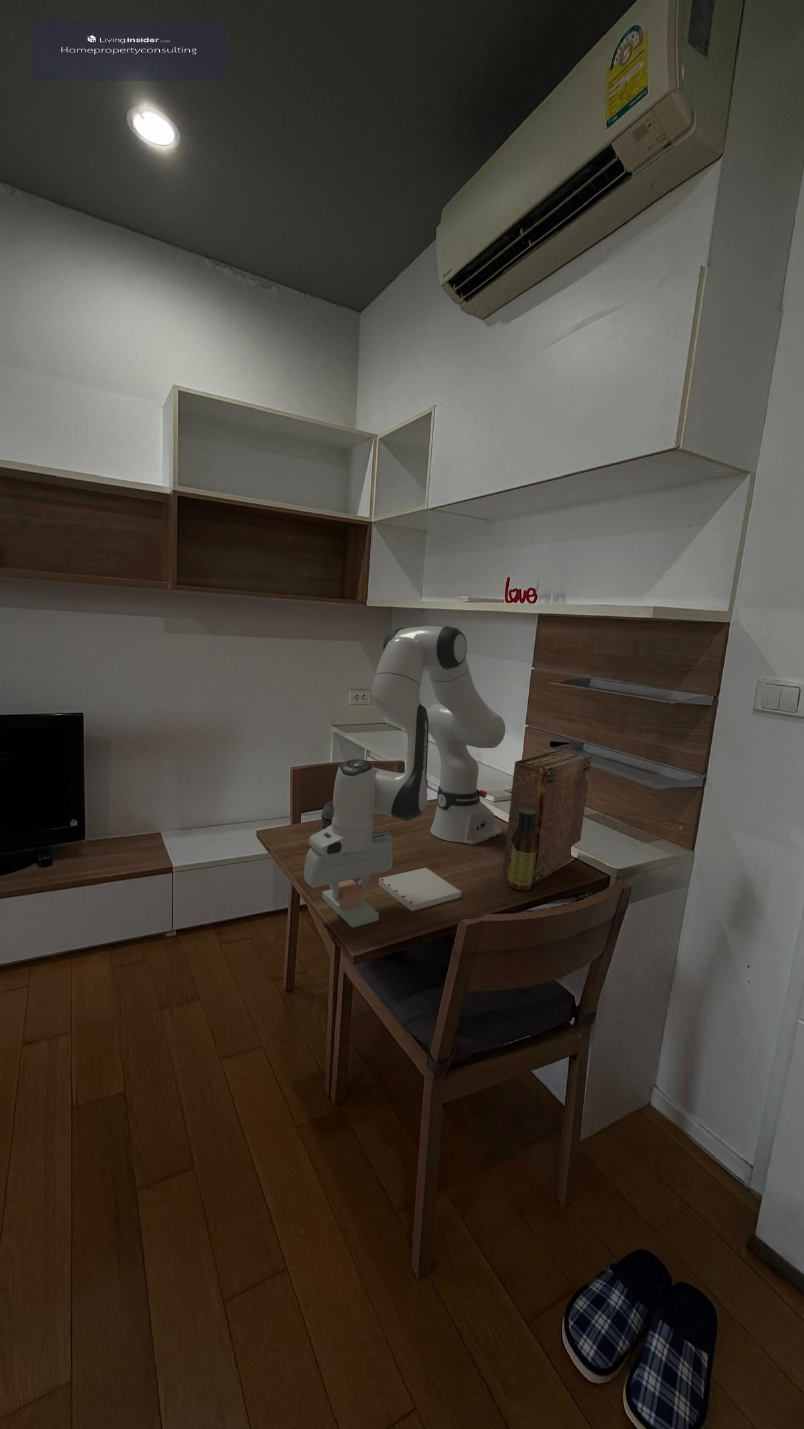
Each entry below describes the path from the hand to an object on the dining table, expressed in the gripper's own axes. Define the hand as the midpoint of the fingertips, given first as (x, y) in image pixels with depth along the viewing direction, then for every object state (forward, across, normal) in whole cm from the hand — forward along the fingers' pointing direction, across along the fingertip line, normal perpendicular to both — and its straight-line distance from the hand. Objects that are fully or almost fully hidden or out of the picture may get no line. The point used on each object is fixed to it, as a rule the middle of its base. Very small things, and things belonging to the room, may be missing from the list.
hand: (348, 896), depth 125 cm
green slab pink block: (+3, 0, 0) cm, 3 cm away
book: (+3, -58, +3) cm, 59 cm away
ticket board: (+3, -19, 0) cm, 20 cm away
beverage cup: (+3, -9, -25) cm, 27 cm away
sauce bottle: (+3, -44, +9) cm, 45 cm away
